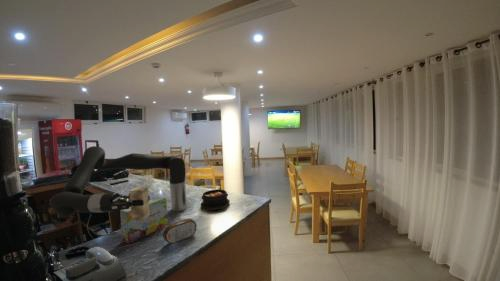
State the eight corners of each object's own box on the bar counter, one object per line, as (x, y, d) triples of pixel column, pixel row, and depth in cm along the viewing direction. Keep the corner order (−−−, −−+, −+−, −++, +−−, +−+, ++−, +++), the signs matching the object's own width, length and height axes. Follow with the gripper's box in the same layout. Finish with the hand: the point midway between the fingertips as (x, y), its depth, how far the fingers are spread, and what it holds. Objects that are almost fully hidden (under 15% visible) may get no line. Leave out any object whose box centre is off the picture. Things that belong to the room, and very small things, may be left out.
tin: (195, 232, 105) (194, 215, 104) (198, 234, 103) (197, 217, 102) (163, 244, 95) (162, 226, 95) (165, 247, 93) (164, 228, 92)
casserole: (233, 210, 130) (232, 196, 130) (201, 215, 126) (200, 200, 125) (226, 197, 154) (226, 185, 154) (200, 201, 150) (199, 189, 149)
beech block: (131, 220, 87) (129, 191, 86) (138, 214, 92) (135, 187, 91) (144, 219, 87) (141, 190, 87) (149, 214, 92) (147, 186, 92)
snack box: (129, 244, 97) (126, 211, 96) (122, 241, 100) (119, 209, 99) (168, 224, 115) (166, 197, 114) (161, 222, 118) (159, 195, 117)
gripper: (116, 204, 97) (154, 202, 97) (93, 218, 82) (138, 216, 83) (114, 188, 96) (152, 186, 96) (91, 199, 82) (136, 197, 82)
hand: (146, 200), depth 89 cm, fingers closed on beech block, 5 cm apart
